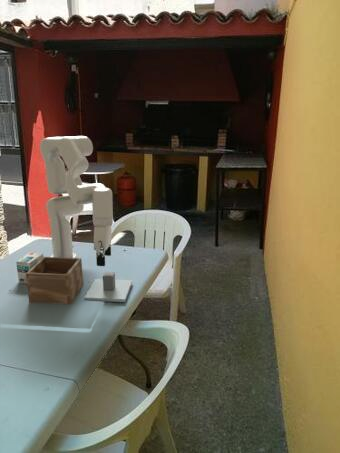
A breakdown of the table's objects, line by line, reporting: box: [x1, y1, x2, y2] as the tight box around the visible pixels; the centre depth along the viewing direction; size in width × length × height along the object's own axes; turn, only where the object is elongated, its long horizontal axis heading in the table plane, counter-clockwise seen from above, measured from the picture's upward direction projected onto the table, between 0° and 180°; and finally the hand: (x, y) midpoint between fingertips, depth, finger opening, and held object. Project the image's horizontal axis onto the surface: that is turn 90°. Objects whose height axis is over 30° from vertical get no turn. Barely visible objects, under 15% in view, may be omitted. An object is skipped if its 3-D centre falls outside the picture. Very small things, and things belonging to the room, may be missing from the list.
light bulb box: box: [15, 252, 44, 284], centre depth 151 cm, size 11×7×11 cm, turn 168°
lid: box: [84, 271, 133, 303], centre depth 142 cm, size 16×16×9 cm
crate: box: [26, 256, 84, 305], centre depth 139 cm, size 16×16×13 cm
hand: (104, 260), depth 139 cm, fingers open, 9 cm apart
